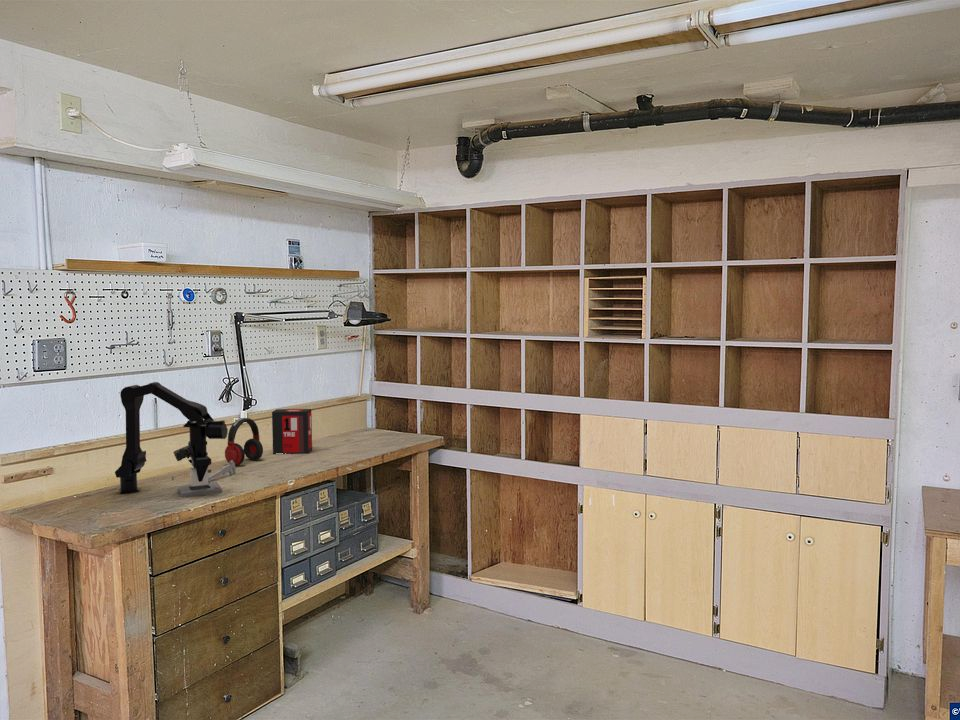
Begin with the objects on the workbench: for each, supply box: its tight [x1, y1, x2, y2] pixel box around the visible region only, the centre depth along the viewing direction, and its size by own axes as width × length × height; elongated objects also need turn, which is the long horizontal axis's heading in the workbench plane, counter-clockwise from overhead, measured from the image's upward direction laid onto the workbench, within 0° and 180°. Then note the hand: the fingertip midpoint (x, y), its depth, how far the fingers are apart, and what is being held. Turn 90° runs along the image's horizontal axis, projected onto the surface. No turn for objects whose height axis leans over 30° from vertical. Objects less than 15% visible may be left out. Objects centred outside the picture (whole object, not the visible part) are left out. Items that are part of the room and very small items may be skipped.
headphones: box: [224, 417, 264, 467], centre depth 320 cm, size 18×10×20 cm, turn 157°
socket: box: [177, 481, 223, 499], centre depth 271 cm, size 12×14×2 cm
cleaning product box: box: [271, 408, 313, 455], centre depth 343 cm, size 16×9×20 cm, turn 92°
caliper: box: [208, 460, 237, 482], centre depth 290 cm, size 20×1×6 cm, turn 157°
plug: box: [189, 467, 212, 486], centre depth 271 cm, size 4×7×6 cm, turn 120°
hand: (199, 480), depth 270 cm, fingers closed on plug, 4 cm apart
